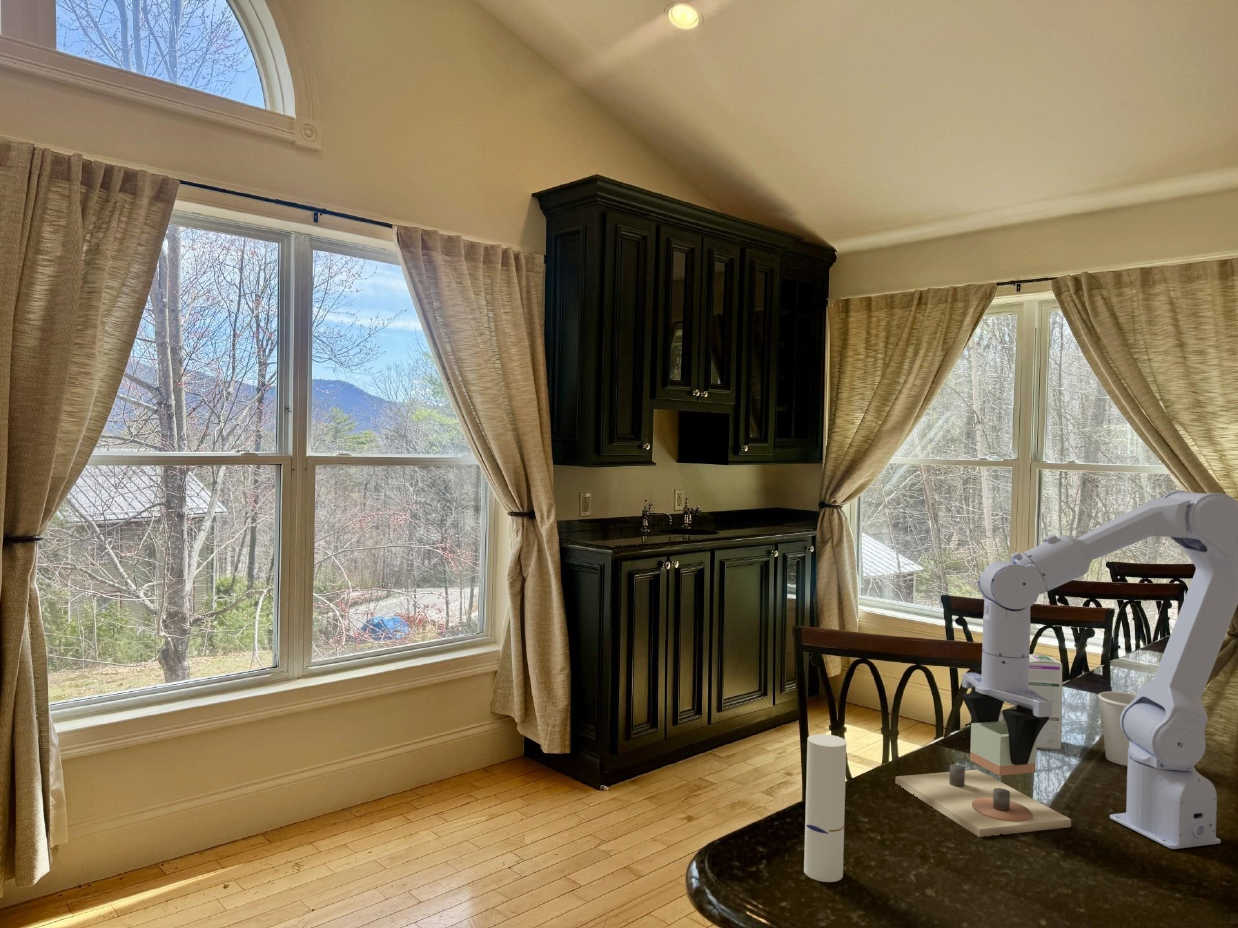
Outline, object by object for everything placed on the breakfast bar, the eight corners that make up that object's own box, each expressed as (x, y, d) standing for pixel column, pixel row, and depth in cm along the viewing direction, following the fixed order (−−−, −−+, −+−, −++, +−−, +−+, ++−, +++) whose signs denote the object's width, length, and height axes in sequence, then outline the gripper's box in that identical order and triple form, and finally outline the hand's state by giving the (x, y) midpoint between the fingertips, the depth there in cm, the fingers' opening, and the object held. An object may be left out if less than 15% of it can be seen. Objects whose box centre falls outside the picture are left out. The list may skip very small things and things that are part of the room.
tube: (836, 863, 98) (840, 734, 98) (847, 881, 94) (851, 746, 94) (799, 863, 98) (803, 733, 98) (809, 881, 94) (813, 746, 94)
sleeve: (1035, 772, 110) (1036, 733, 110) (999, 775, 109) (1000, 736, 109) (1004, 757, 116) (1005, 720, 116) (970, 760, 114) (971, 723, 114)
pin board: (1070, 826, 110) (1071, 799, 110) (979, 836, 106) (980, 809, 106) (976, 775, 127) (977, 752, 127) (895, 783, 124) (896, 759, 123)
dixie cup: (1166, 772, 131) (1167, 707, 131) (1107, 766, 133) (1108, 703, 133) (1144, 754, 139) (1145, 693, 139) (1088, 749, 141) (1090, 689, 141)
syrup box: (1062, 750, 140) (1064, 662, 140) (1024, 746, 141) (1026, 660, 141) (1052, 739, 146) (1054, 655, 146) (1015, 736, 147) (1017, 652, 147)
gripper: (944, 642, 118) (941, 739, 118) (1020, 667, 104) (1016, 777, 104) (987, 640, 120) (984, 736, 120) (1067, 665, 106) (1064, 773, 106)
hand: (1002, 755), depth 112 cm, fingers closed on sleeve, 6 cm apart
